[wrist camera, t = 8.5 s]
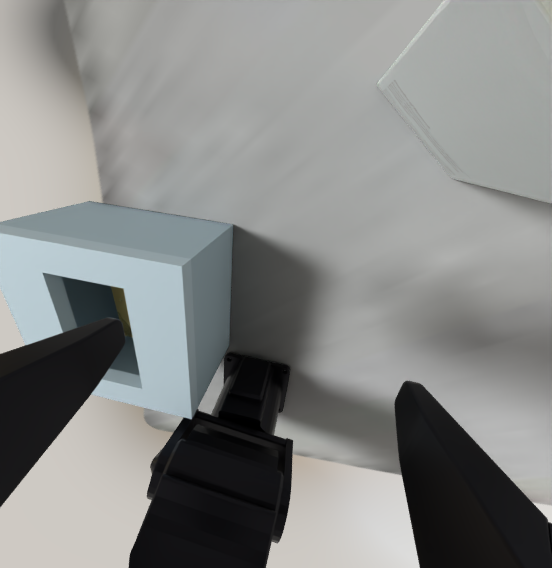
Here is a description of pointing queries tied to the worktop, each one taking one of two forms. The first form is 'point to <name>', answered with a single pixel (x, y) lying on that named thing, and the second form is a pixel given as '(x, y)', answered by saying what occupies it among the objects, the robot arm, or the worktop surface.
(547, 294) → the worktop surface
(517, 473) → the worktop surface
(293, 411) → the worktop surface
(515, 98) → the supplement box
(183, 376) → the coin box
